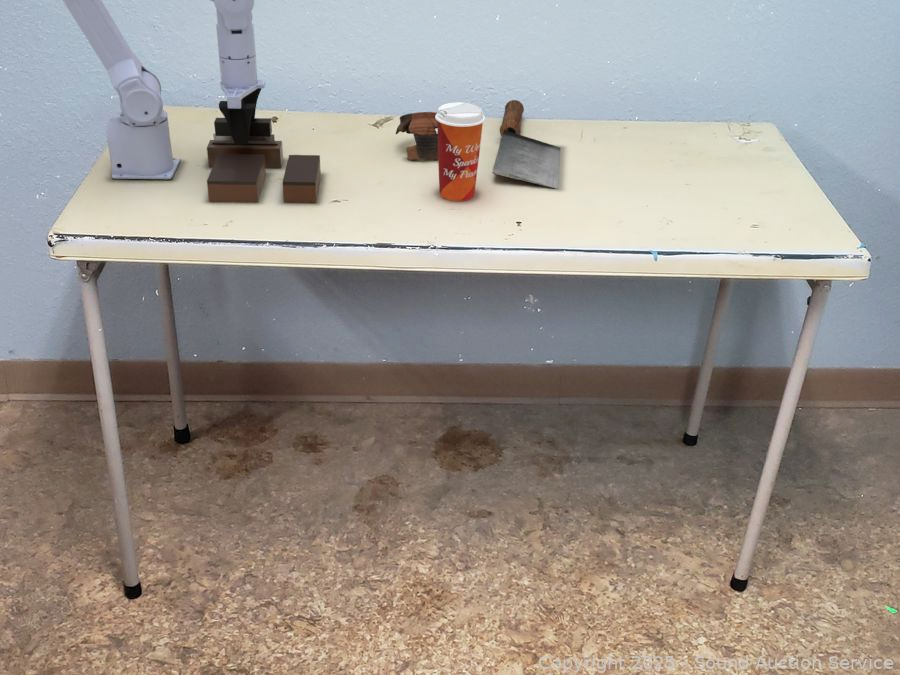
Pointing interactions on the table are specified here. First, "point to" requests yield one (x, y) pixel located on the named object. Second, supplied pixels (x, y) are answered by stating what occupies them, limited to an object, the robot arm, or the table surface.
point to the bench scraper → (257, 136)
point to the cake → (236, 178)
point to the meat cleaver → (525, 152)
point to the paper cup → (458, 149)
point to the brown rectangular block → (302, 179)
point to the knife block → (248, 152)
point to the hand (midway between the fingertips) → (244, 136)
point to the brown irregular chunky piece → (421, 134)
